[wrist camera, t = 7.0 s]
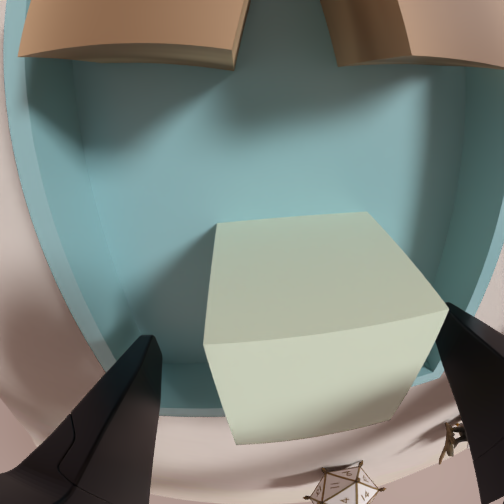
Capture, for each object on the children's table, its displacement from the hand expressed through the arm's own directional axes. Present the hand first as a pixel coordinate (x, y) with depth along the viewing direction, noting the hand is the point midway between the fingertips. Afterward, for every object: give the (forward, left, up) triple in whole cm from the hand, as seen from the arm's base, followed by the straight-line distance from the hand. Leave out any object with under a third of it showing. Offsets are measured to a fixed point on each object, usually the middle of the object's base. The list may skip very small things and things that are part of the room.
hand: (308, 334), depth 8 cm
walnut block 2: (-3, -9, -3) cm, 10 cm away
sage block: (0, 0, -3) cm, 3 cm away
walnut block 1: (+3, -9, -3) cm, 10 cm away
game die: (-7, +30, -4) cm, 31 cm away
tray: (0, -4, -3) cm, 5 cm away
